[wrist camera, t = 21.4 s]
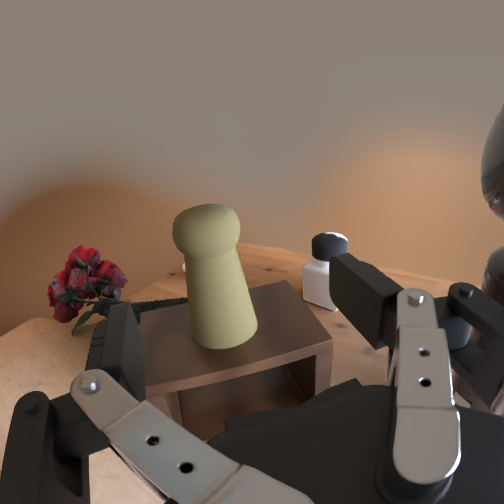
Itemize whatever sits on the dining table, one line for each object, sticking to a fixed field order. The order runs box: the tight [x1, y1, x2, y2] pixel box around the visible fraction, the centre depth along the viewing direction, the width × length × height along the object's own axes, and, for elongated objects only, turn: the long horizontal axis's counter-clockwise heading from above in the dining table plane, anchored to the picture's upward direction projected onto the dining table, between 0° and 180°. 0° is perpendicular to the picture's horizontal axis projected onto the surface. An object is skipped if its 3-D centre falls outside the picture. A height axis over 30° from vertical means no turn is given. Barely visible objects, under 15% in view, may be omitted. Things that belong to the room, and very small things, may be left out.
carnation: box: [48, 245, 188, 336], centre depth 54 cm, size 16×18×35 cm
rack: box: [140, 280, 333, 443], centre depth 31 cm, size 16×11×15 cm
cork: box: [172, 204, 258, 349], centre depth 26 cm, size 6×6×11 cm
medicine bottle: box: [302, 232, 347, 311], centre depth 55 cm, size 7×7×12 cm
